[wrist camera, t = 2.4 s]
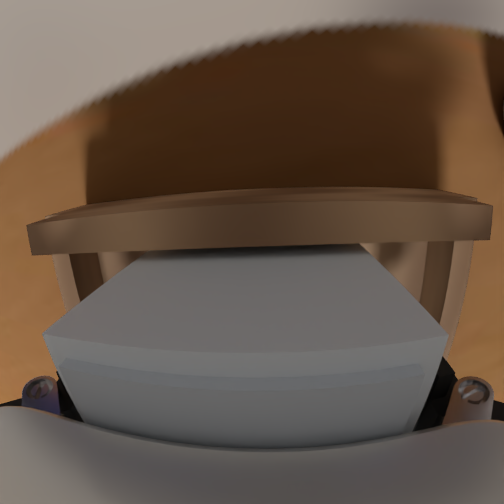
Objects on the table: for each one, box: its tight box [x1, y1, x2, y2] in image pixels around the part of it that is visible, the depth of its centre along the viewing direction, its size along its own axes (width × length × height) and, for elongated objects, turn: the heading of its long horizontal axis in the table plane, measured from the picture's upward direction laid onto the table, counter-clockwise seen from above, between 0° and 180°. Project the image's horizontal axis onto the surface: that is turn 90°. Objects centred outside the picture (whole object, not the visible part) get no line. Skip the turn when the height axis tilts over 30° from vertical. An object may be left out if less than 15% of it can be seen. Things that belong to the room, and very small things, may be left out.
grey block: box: [42, 243, 449, 449], centre depth 8 cm, size 6×8×8 cm
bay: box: [27, 187, 493, 361], centre depth 12 cm, size 16×20×5 cm
